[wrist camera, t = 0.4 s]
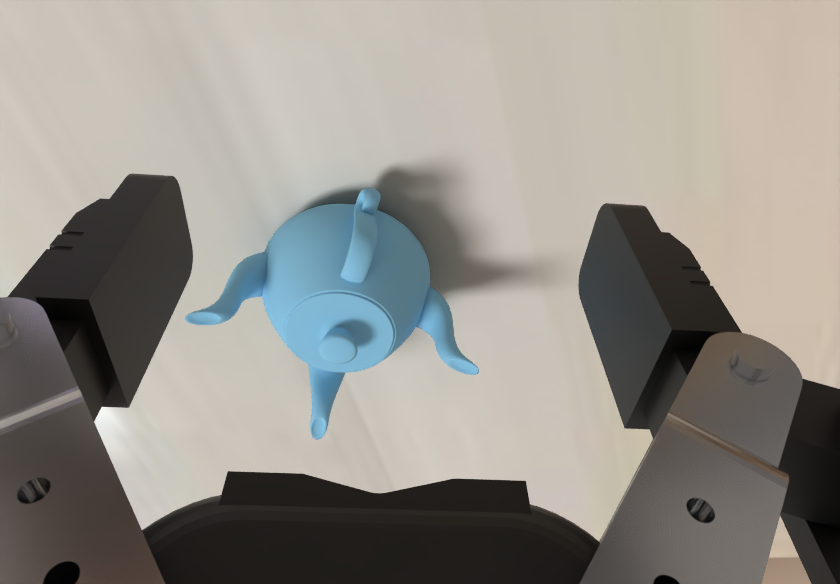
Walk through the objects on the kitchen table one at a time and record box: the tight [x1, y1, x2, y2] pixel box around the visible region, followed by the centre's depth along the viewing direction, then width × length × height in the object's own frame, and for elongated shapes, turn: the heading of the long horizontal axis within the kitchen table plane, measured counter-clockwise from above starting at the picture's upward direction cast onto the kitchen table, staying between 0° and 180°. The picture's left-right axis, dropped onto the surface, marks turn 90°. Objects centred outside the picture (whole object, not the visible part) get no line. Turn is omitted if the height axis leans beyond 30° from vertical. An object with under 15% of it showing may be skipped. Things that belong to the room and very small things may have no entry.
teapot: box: [185, 188, 479, 439], centre depth 44 cm, size 15×15×10 cm
